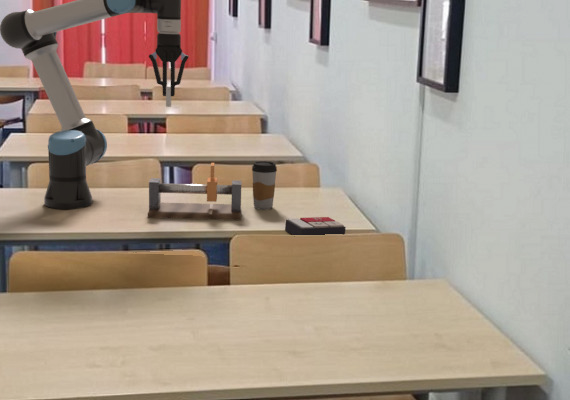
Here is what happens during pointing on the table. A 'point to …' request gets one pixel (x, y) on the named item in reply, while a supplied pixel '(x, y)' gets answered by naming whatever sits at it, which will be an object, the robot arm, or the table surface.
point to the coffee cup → (263, 184)
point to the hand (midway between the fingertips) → (168, 106)
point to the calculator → (314, 226)
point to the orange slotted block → (212, 186)
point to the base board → (195, 211)
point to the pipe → (192, 192)
